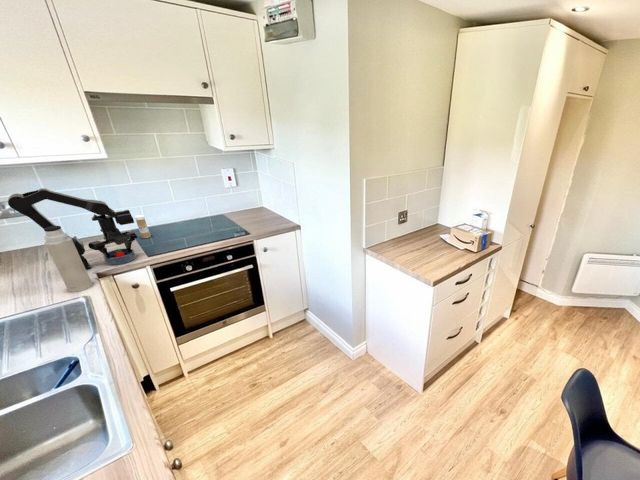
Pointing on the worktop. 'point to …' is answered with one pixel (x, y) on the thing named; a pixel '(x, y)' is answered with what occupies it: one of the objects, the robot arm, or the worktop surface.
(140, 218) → the sprinkles bottle
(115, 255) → the strawberry
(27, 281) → the worktop surface
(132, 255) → the bowl
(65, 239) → the thermos bottle
